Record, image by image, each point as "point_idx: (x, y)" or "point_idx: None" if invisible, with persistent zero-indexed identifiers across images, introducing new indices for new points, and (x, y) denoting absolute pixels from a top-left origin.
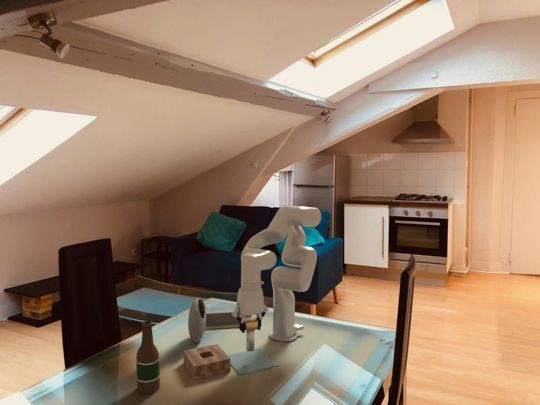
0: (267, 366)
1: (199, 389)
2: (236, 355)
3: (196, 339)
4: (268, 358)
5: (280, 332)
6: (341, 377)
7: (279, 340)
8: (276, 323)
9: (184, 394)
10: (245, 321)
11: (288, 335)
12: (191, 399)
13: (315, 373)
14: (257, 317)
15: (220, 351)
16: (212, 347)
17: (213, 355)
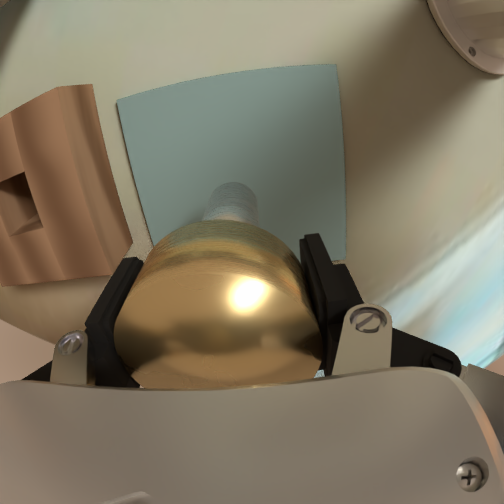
0: (297, 258)
1: (51, 309)
2: (179, 107)
3: (4, 3)
4: (333, 191)
5: (482, 32)
6: (450, 350)
7: (453, 45)
8: (499, 4)
9: (25, 315)
10: (146, 374)
11: (500, 57)
12: (46, 338)
13: (419, 327)
14: (333, 351)
15: (65, 188)
16: (32, 131)
17: (41, 216)
